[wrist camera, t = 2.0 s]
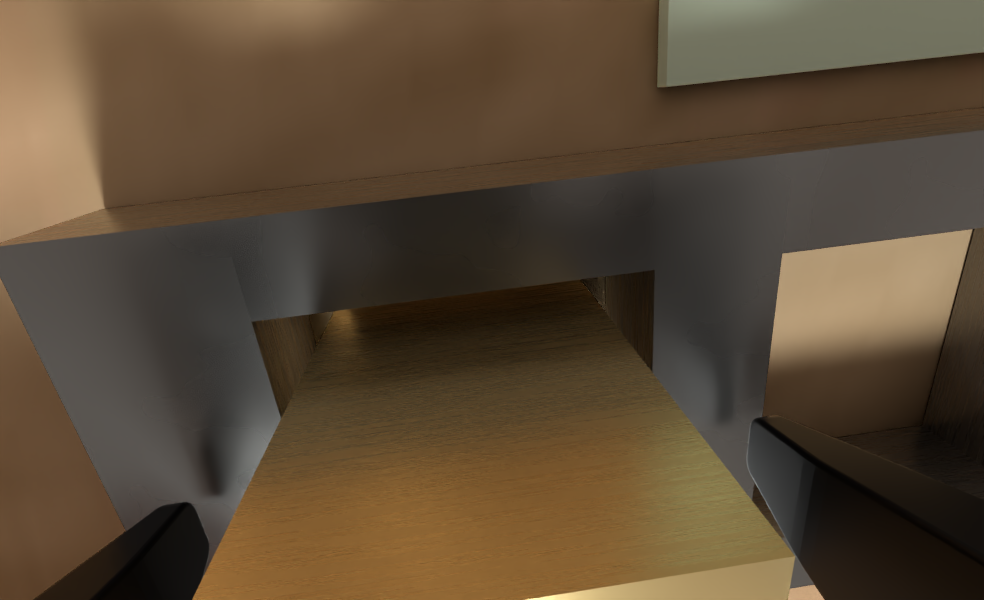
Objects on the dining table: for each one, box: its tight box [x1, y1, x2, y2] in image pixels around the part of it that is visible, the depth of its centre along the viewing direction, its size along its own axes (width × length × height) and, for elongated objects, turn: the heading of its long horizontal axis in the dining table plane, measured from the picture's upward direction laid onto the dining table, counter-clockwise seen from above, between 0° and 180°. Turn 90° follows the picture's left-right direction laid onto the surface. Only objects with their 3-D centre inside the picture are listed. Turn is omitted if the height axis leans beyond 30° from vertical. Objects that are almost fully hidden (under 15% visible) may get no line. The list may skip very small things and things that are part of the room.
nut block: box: [192, 280, 795, 600], centre depth 8 cm, size 5×5×7 cm
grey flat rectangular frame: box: [0, 107, 984, 588], centre depth 10 cm, size 20×9×2 cm, turn 96°
